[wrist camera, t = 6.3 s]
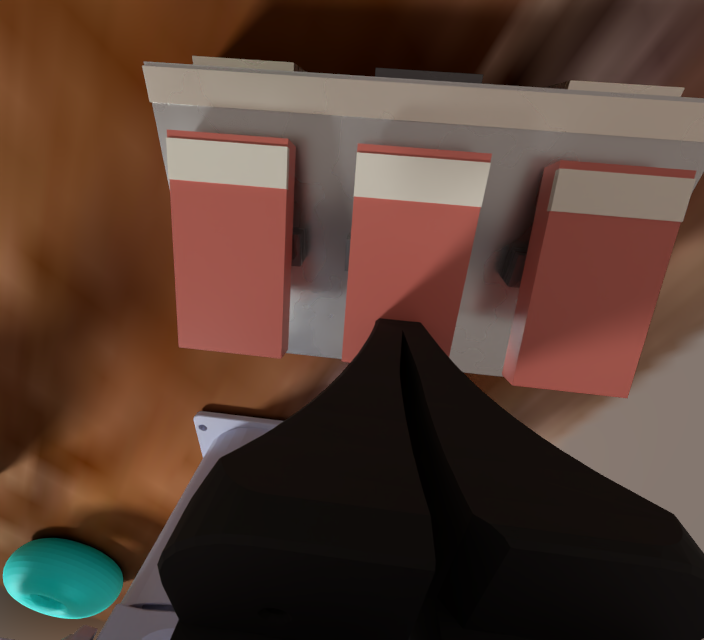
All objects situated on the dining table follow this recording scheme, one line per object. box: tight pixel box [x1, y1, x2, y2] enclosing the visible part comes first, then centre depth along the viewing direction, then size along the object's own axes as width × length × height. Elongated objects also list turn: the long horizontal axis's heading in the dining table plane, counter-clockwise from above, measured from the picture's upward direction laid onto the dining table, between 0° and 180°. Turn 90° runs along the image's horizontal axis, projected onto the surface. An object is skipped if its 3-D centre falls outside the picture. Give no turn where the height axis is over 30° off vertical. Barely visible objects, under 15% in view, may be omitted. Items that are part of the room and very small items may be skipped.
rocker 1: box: [166, 129, 296, 358], centre depth 10 cm, size 6×3×1 cm, turn 178°
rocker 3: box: [502, 160, 696, 398], centre depth 9 cm, size 6×3×1 cm, turn 178°
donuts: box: [3, 538, 123, 619], centre depth 28 cm, size 10×10×10 cm
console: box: [142, 56, 704, 377], centre depth 11 cm, size 9×15×4 cm, turn 87°
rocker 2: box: [341, 143, 492, 363], centre depth 9 cm, size 6×3×1 cm, turn 177°
